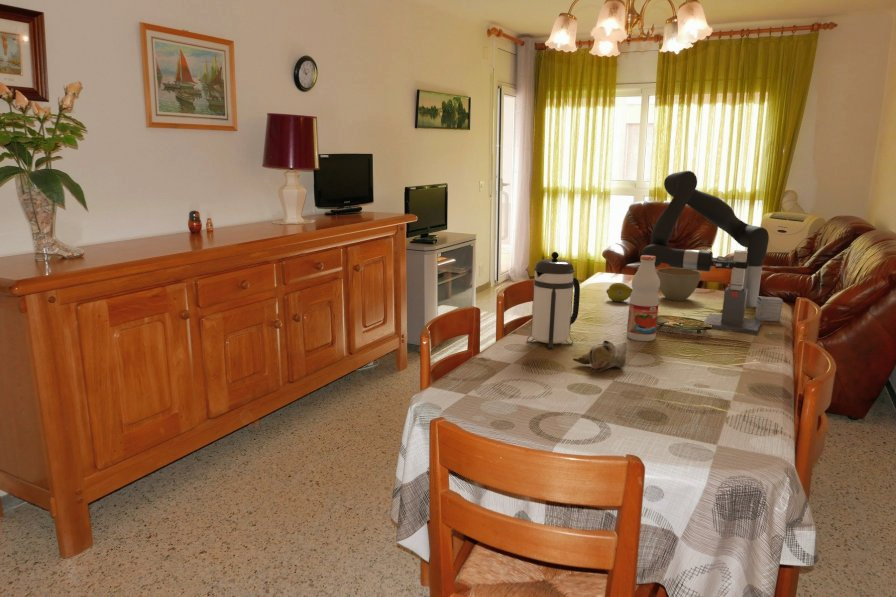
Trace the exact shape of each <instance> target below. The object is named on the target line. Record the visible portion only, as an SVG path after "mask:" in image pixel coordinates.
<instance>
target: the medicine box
mask: <svg viewBox="0 0 896 597" xmlns="http://www.w3.org/2000/svg"><path fill="white" fill-rule="evenodd" d="M783 303H784V300H783V299H782V298H780V297H778V296H777V297H776V296H758V297H757V305H756V307H755V313H754V314H755V315H754V319H758V320H761V322H780V321H781V317H782V309H783Z"/></svg>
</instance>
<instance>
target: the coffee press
mask: <svg viewBox="0 0 896 597" xmlns="http://www.w3.org/2000/svg"><path fill="white" fill-rule="evenodd" d="M559 256H560V255H559V253H558V252H557V251H553V252H552V253H551V258H544V259H541V260H539V261H537V262H536V264H535V265H534V266H533V271H534V278H533V288H532V290H533V292H532V296H533V299H532V308H531V311H532V312H531V315H532V318H531V328H530V333H529V335H528V337H526V343H529V344H530V343H533V341H534V340H535V341H538V342H540V343H544V344H547V347H548V350H554V349H553V348H554V344H562V343H564V342H566V343H567V344H568V345H570V346H572V345H574V341H573V339H572V337H571V325H573V324H574V323H575V322H576V320H577V318H578V315H579V310H580V296H581V295H580V294H581V286H580V285H581V284H580V282H579V280H578V279H577V278H575V277H574V274H575V271H576V270H575V267H574V265H573V264H572V262H570V261H568V260H565V259H560V258H559ZM531 337H532V339H531V340H529V339H530V338H531ZM569 338H570V340H571V343H570V342H569V341H568V340H569Z"/></svg>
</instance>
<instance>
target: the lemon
mask: <svg viewBox="0 0 896 597" xmlns="http://www.w3.org/2000/svg"><path fill="white" fill-rule="evenodd" d="M605 291H606V292H605V293H607V294H606V295H607V297H608V298H609V300H611V301H613V302H618V303H620V302H623V301H626V300H628V299H630V295H631V293H632V287H630V286H629V285H627V284H626V283H621V282H615V283H614V282H613V283H612V284H610V285H609V288H607V289H606V290H605Z"/></svg>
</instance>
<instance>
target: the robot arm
mask: <svg viewBox="0 0 896 597" xmlns="http://www.w3.org/2000/svg"><path fill="white" fill-rule="evenodd" d="M697 186H698V178H697V175H696V174H695V172H693V171H691V170H682V171H678V172H673V173H671V174H668V175H667V176H666V177H665V179H664V182H663V187H664V189H665V191H666V193H667V194H668V195H670V197H672V199H671V201H670V202H669V203H668V205H667V206H666V208H664V210H663V211H662V212H661V213H660V215H659V217H657V220H656V222H655V224H654V226H653V229H652V231H651V234H650V244H648V245H646V246H645V247H644V248H642V250H641V256H642V255H650V256H655V257H656V261H655V263H654V264H655V268H658V267H659V266H660V265H661V264H666V265H667V266H668V267H670V268H682V269H689V270H695V271H698V272H710V271H711V269H712V267H714V269H727V270H732V269H734V268H735V267H736V268H740V269H745V276H744V285H743V289H748V291H747V299H746V307H745V308H756V305H757V297H759V294H760V285H761V277H762V270H763V264H764V261H765V259H766V258H767V251H768V246H769V239H770V237H769V232H768V229H766V228H765V227H762V226H756V225H752V224H748V223H746V222H745V221H742V220H741V219H740V218H739V217H737V215H736V214H735V211H734V210H733V208H732V207H731V206H730V205H729V204H728V203H727V202H725V201H724V200H722V199H721V198H720V197H717V196H716V195H712V194H710V193H706V192H703V191H700V190H698V189H696V188H697ZM686 206H688V207H690V208H691V209H693V210H694V211H695V212H697V214H699V215H701V216H702V217H703V218H704V219H706V220H708V221H709V222H710V223H711V224H713V225H715V226H716V227H718V228H719V229H721V230H722V231H724V232H726V233H727V234H728V235H729V236H730V237H731V238H732V239H733V240H734V241H735V242H737V243H738V245H739V246H742V247H743V248H746V251H748V252H747V260H746V263H745V262H736V261H733V259H734V257H726V256H720V255H718V256H717V257H713V254H714V253H713V251H711V250H700V249H683V248H681V249H680V248H672V247H669V246H668V243H669V241H670V239H671V236H672V234H673V231H674V229H675V226H676V224H677V223H678V220H679V217H680V216H681V214H682V212H683V211H684V209H685V208H686Z"/></svg>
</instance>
